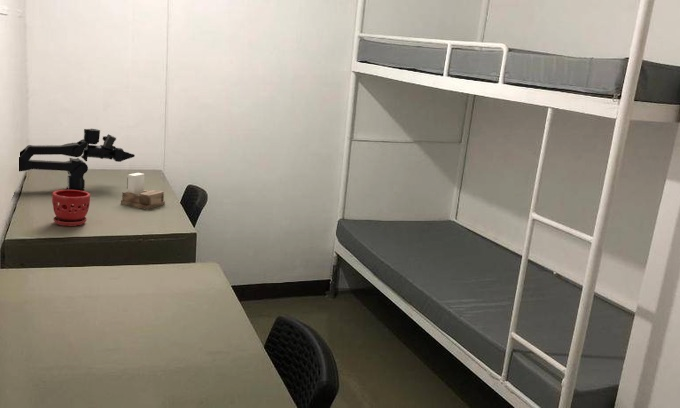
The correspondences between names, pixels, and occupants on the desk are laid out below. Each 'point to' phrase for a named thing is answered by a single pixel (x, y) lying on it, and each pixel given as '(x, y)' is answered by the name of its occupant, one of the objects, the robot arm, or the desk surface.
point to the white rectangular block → (135, 183)
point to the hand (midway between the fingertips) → (131, 154)
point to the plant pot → (70, 207)
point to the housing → (144, 199)
